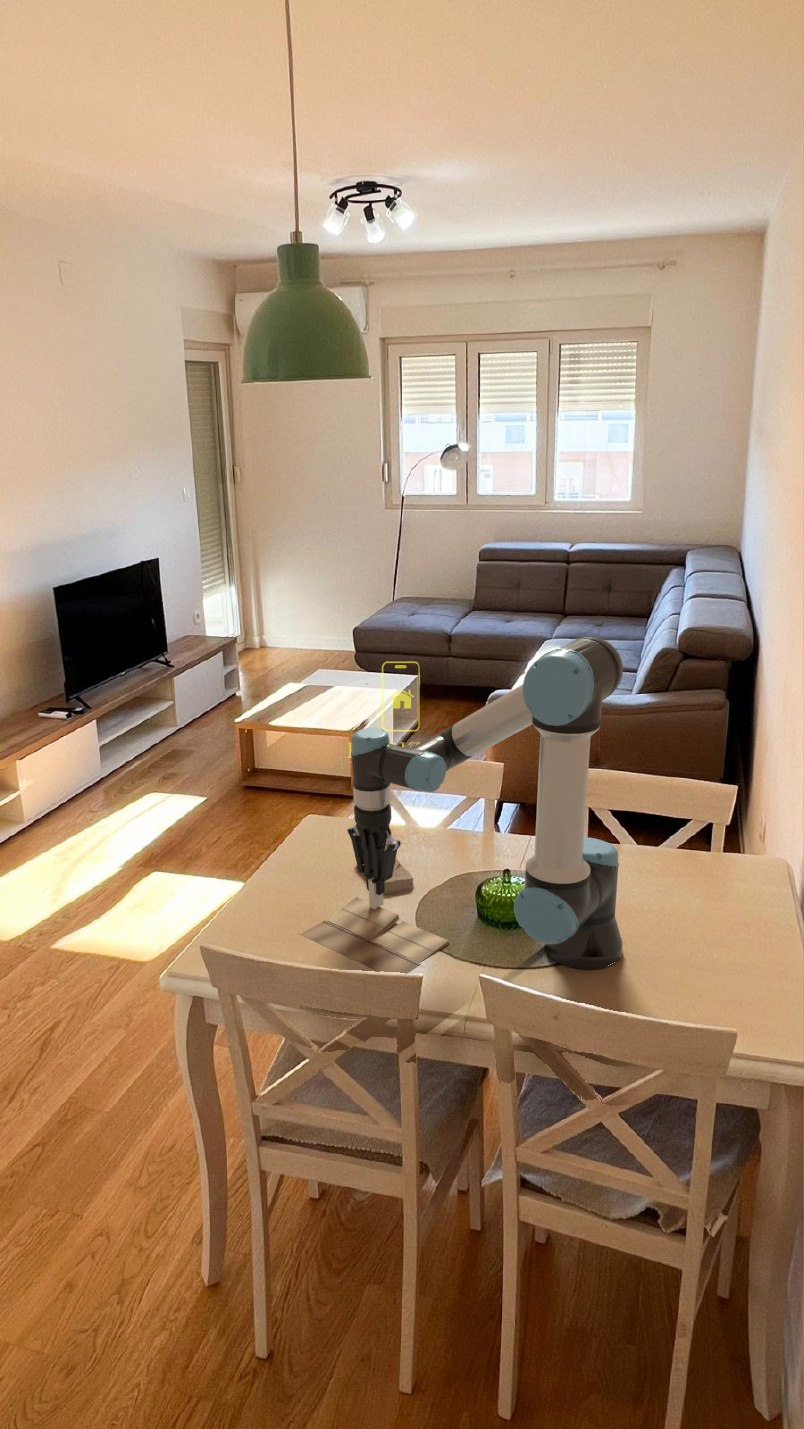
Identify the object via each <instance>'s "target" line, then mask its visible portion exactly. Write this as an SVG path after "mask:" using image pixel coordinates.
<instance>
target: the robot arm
mask: <svg viewBox="0 0 804 1429" xmlns="http://www.w3.org/2000/svg"><path fill="white" fill-rule="evenodd" d="M623 672H624V665H623V660H622V658H621V655H620V653H619V652H618V650H617V649H616V648H615V646H613V645H612V644H611V643H610V642H609V641H607V640H605V639H604V638H600V637H595V636H585V637H580V638H576V639H574V640H572V641H571V642H569V643H567V644H565V645H563V646H560V647H559V648H555V649H552V650H550V651H548V652H546V653H544V654H543V655H541V656H540V657H539V658H538V659H537V660H536V661H534V662H533V663H532V664H531V665H530V667H529V668H528V669H527V671H526V674H525V676H524V678H523V683H522V684H520V685H519V686H517V687H516V688H514V689H512V690H511V691H509V692H507V693H505V694H504V695H502V696H500V697H498V698H497V699H495V700H493V701H491V702H490V703H488V704H486V705H485V706H483V707H481V708H480V709H478V710H476V711H474V712H472V713H471V714H470V715H467V716H466V717H464V718H463V719H461V720H459V721H457V722H456V723H454V724H452V725H450V726H449V727H447V728H444V729H443V730H441V731H440V732H439V733H436V734H435V735H433V736H431V737H429V738H427V739H425V740H423V741H422V742H419V743H418V744H416V745H414V746H412V747H405V746H399V745H396V744H393V743H390V736H389V733H388V732H387V731H386V730H384V729H382V728H377V727H367V728H362V729H359V730H358V731H355V732H354V733H353V734H352V736H351V752H350V756H351V766H352V777H353V778H352V779H353V780H352V785H353V786H352V787H353V788H352V790H353V793H352V794H353V804H354V805H353V810H354V811H353V812H354V813H353V814H354V822H355V825H353V826H351V827H350V828H347V833H348V835H349V837H350V839H351V845H352V848H353V852H354V857H355V861H356V866H357V871H358V873H360V874H363V875H364V874H365V875H364V878H366V890H367V891H368V900H369V901H368V902H369V906H370V908H372V909H377V908H378V907H381V906H383V905H384V895H383V893H384V892H385V881H387V880H388V879H390V878H392V876H393V870H394V865H395V859H396V858H397V853H398V849H399V848H400V846H401V844H402V843H401V840H400V839H396V840H395V839H394V838H393V836H392V830H391V828H390V824H391V820H392V804H391V802H392V801H391V796H392V795H391V784H392V785H396V786H400V787H404V788H406V789H407V788H408V789H411V790H413V791H418V792H426V793H434V792H435V791H438V790H439V789H440V787H441V785H442V784H443V783H444V781H445V778H446V774H447V772H448V771H449V770H451V769H453V768H454V767H456V766H458V765H461V764H462V763H464V762H466V761H467V760H469V759H471V758H473V757H475V756H476V755H478V754H480V753H482V752H483V751H486V750H487V749H489V748H491V747H494V746H495V745H496V744H499V743H500V742H502V741H504V740H506V739H508V738H509V737H511V736H513V735H515V734H517V733H519V732H521V731H523V730H524V729H526V728H528V727H531V725H532V726H533V727H534V728H535V729H536V730H537V731H538V732H539V734H540V736H539V737H540V738H539V741H540V742H539V754H538V755H539V758H538V775H537V777H538V778H537V799H536V815H535V816H536V820H535V838H534V840H535V841H534V842H535V843H534V855H532V856H531V857H529V858H528V859H527V860H526V862H525V871H524V872H525V875H524V876H525V877H524V888H523V889H521V890H520V891H519V892H518V893H517V896H516V897H515V899H514V903H513V913H514V917H515V919H516V922H517V923H518V925H519V926H520V927H521V928H522V929H524V931H525V933H526V934H527V935H528V936H529V937H530V938H532V939H533V940H535V941H538V942H539V943H543V944H544V950H545V952H546V954H547V953H548V954H547V955H548V957H550V958H551V959H552V960H554V961H555V962H557V963H558V962H559V964H560V965H563V966H566V967H569V968H574V969H578V970H599V968H600V969H604V968H603V967H605V968H607V967H606V966H608V965H610V964H612V963H614V962H616V961H617V960H618V959H619V958H620V956H621V957H622V955H623V940H622V939H623V938H622V936H621V932H620V929H619V925H618V922H617V918H616V904H617V894H618V893H617V892H618V891H617V890H618V889H617V888H618V876H619V867H620V863H619V852H618V850H617V848H616V847H615V846H614V845H612V844H611V843H610V842H607V841H605V840H602V839H598V838H593V837H585V829H586V828H585V826H586V810H587V796H588V782H589V779H588V778H589V769H590V768H589V766H590V765H589V764H590V750H591V737H592V736H593V735H594V734H595V733H596V732H598V731H599V730H600V728H601V721H602V719H601V718H602V708H603V701H604V700H606V699H607V698H608V697H610V696H611V695H612V694H613V693H614V692H615V691H616V690H617V689H618V687H619V686H620V684H621V682H622V678H623V675H624V674H623ZM385 849H386V850H385ZM363 864H364V865H363ZM621 954H622V955H621ZM620 959H621V958H620ZM620 959H619V960H620ZM619 960H618V961H619ZM618 961H617V962H618ZM617 962H616V963H617ZM614 964H615V963H614ZM608 967H609V966H608Z"/></svg>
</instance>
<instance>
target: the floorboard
mask: <svg viewBox="0 0 804 1429" xmlns="http://www.w3.org/2000/svg"><path fill="white" fill-rule="evenodd" d="M299 935H301V936H303V937H305V938H307V939H309V940H311V941H313V942H314V943H318V944H319V945H322V946H323V947H326V948H328V949H330V950H331V951H335V952H337V953H339V954H340V955H343V956H344V957H347V958H349V959H351V960H353V961H355V962H357V963H359V964H361V965H364V966H366V967H368V968H370V969H372V970H374V971H376V972H378V971H384V972H400V973H407V974H409V973H411V972H412V971H413V970H414V969H416V968H418V967H419V966H421V965H422V964H421V963H419V962H417V961H415V960H412V959H410V958H408V957H406V956H404V955H401V954H399V953H397V952H395V951H393V950H390V949H388V948H386V947H384V946H381V945H379V944H377V943H375V942H374V941H371V940H368V939H366V938H364V937H362V936H360V935H357V934H355V933H353V932H351V931H349V930H346V929H344V928H342V927H340V926H338V925H335V924H333V923H331V922H329V921H328V920H322V922H319V923H318V924H316V925H314V926H312V927H311V928H310V927H309V929H307V930H305V931H303V932H301V933H299Z"/></svg>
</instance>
